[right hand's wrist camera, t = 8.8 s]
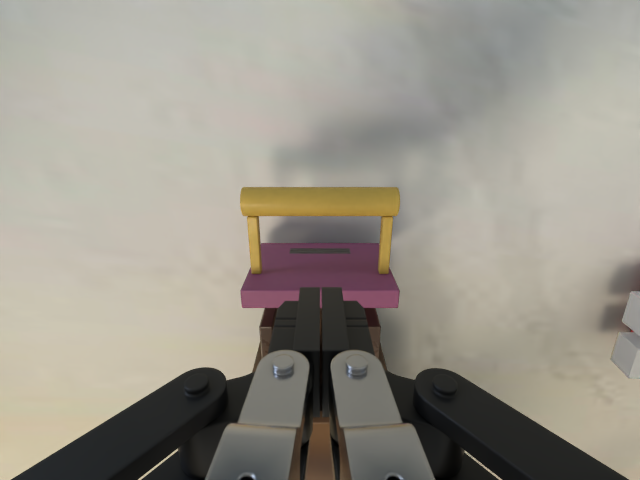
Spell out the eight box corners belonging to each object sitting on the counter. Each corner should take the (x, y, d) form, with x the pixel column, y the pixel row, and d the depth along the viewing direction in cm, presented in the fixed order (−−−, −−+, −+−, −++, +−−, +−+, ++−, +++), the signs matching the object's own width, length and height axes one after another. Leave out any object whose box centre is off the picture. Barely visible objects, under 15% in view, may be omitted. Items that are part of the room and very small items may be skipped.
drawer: (256, 172, 25) (231, 197, 18) (383, 172, 25) (408, 197, 18) (270, 396, 32) (257, 475, 25) (368, 395, 32) (382, 475, 25)
